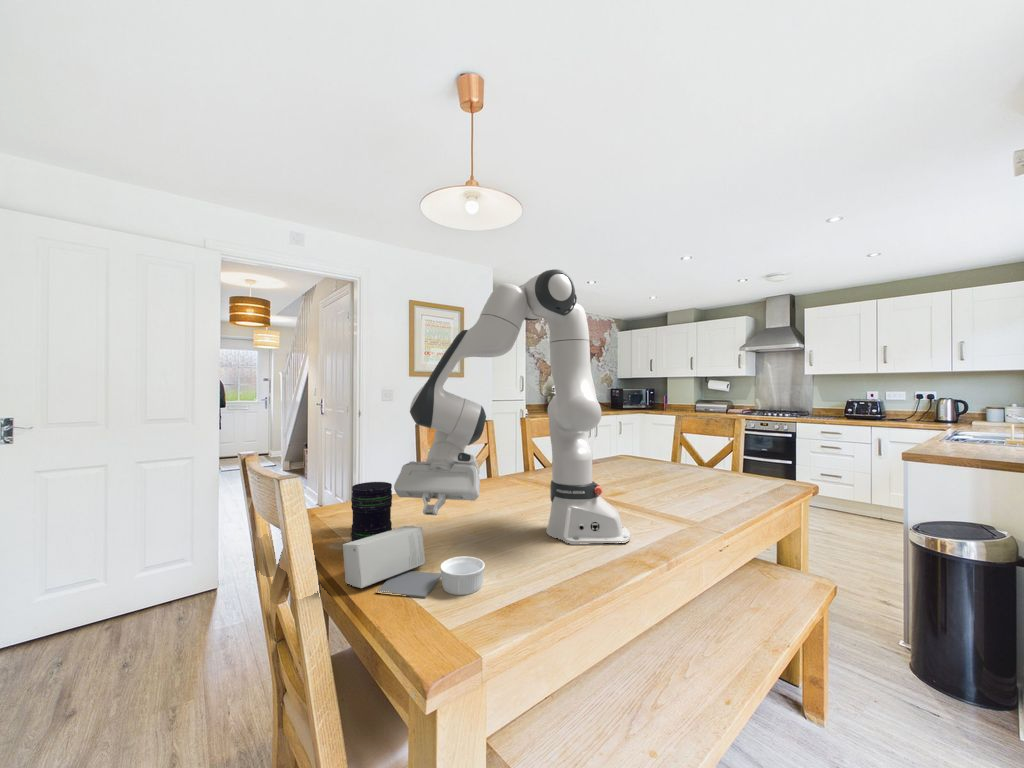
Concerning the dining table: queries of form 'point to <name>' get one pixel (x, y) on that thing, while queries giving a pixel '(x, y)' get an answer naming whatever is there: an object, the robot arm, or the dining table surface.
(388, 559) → the skincare box
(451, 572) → the ramekin
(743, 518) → the dining table surface
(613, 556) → the dining table surface
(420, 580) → the mat
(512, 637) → the dining table surface
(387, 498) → the black cylinder
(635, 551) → the dining table surface
